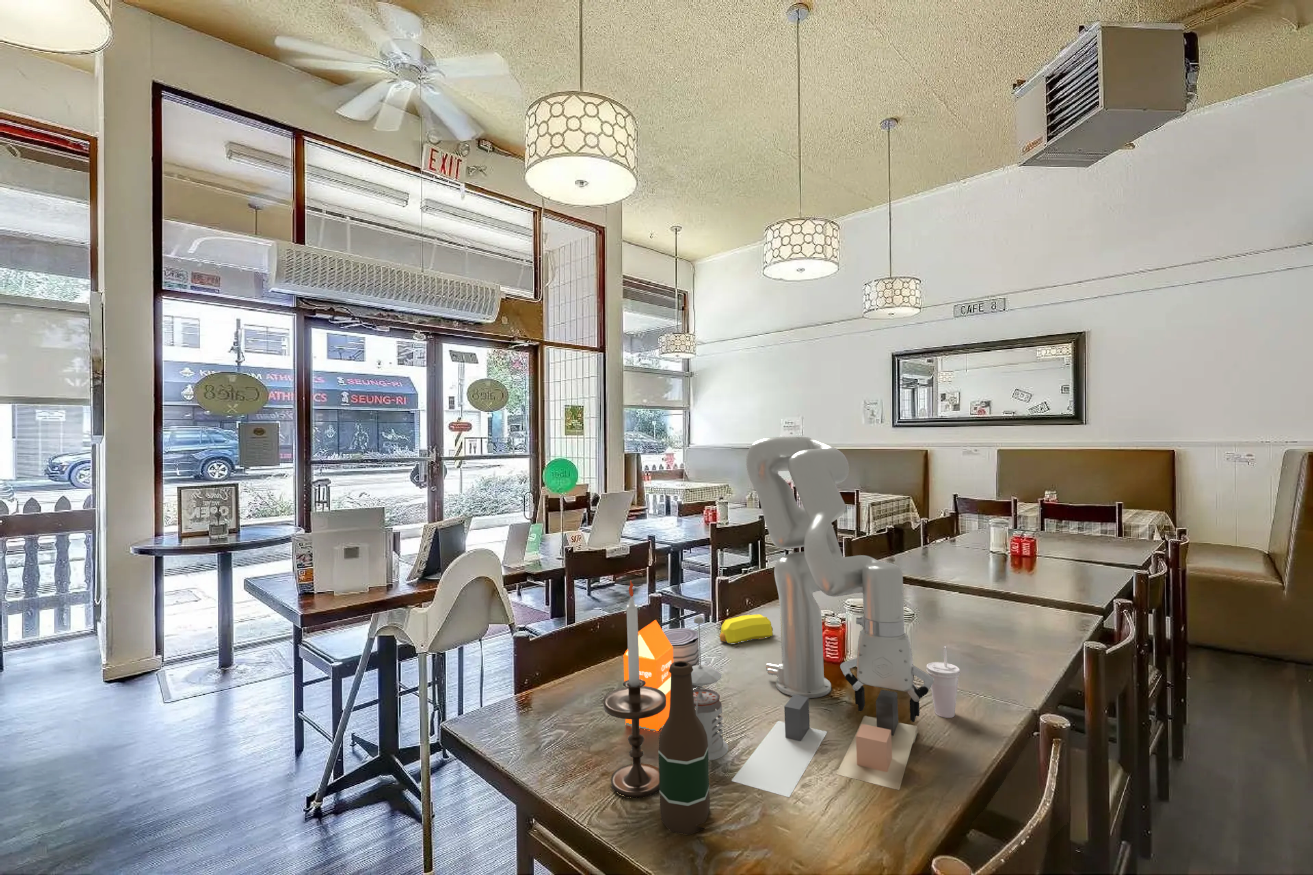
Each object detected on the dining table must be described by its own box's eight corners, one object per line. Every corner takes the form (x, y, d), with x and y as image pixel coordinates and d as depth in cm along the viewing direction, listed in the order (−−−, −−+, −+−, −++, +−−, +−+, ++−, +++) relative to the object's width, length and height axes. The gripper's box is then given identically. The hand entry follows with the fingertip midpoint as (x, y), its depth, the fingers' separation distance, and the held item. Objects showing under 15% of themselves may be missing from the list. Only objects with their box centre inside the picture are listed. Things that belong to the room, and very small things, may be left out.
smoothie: (966, 721, 118) (963, 652, 119) (932, 719, 120) (929, 651, 120) (956, 707, 125) (954, 641, 125) (924, 705, 126) (922, 640, 126)
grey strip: (731, 786, 98) (730, 744, 98) (778, 725, 119) (777, 691, 119) (789, 803, 93) (787, 759, 93) (827, 736, 114) (826, 700, 114)
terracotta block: (857, 764, 102) (855, 735, 102) (862, 751, 106) (861, 723, 106) (887, 772, 99) (886, 742, 99) (892, 758, 104) (891, 729, 104)
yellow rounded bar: (713, 640, 173) (726, 648, 166) (713, 617, 174) (725, 624, 166) (765, 631, 180) (779, 638, 173) (764, 609, 180) (778, 615, 173)
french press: (733, 737, 115) (729, 610, 115) (720, 769, 104) (715, 628, 104) (685, 731, 118) (681, 607, 119) (667, 761, 107) (663, 624, 108)
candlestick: (663, 803, 94) (656, 587, 95) (598, 799, 96) (592, 586, 97) (673, 767, 105) (666, 572, 106) (614, 763, 107) (608, 572, 108)
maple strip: (836, 779, 99) (834, 738, 99) (864, 720, 120) (863, 686, 120) (899, 796, 94) (897, 752, 94) (917, 731, 115) (916, 695, 115)
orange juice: (675, 713, 126) (672, 620, 126) (658, 732, 118) (655, 633, 118) (643, 707, 129) (640, 617, 130) (624, 725, 121) (621, 629, 122)
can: (701, 692, 136) (699, 641, 137) (652, 694, 137) (651, 642, 137) (698, 673, 148) (697, 626, 148) (654, 674, 148) (652, 627, 148)
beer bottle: (658, 806, 94) (653, 656, 94) (706, 802, 94) (701, 653, 95) (662, 838, 86) (658, 675, 86) (714, 833, 87) (709, 671, 87)
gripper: (834, 626, 116) (837, 712, 116) (930, 638, 107) (933, 731, 107) (843, 616, 123) (846, 697, 123) (934, 626, 114) (937, 714, 114)
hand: (886, 713), depth 115 cm, fingers open, 9 cm apart
